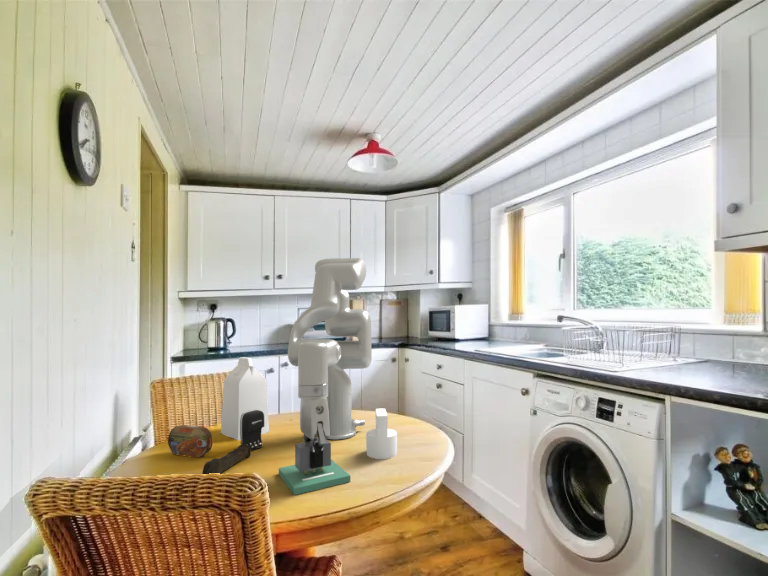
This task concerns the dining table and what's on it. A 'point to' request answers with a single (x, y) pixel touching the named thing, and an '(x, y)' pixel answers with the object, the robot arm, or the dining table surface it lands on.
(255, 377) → the milk
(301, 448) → the block
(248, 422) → the black battery charger
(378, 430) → the base with upright slab
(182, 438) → the tin
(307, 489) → the header board
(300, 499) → the dining table surface
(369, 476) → the dining table surface
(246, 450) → the hand tool
